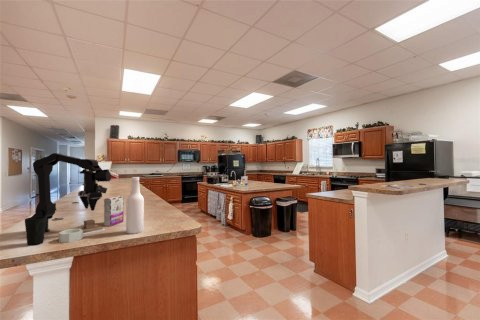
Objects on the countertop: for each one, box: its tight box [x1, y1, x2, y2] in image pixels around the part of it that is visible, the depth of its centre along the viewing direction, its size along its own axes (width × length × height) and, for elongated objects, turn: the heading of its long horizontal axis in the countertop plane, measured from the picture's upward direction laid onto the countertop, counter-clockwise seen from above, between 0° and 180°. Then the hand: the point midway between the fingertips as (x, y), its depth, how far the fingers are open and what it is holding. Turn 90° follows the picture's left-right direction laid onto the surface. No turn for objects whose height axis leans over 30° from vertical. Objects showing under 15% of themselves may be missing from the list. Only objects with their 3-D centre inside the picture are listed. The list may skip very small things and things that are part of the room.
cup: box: [24, 216, 47, 247], centre depth 105 cm, size 8×8×12 cm
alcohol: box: [125, 176, 145, 235], centre depth 124 cm, size 9×9×30 cm
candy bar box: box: [103, 195, 124, 227], centre depth 141 cm, size 11×5×16 cm, turn 168°
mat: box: [83, 227, 107, 236], centre depth 126 cm, size 14×12×1 cm
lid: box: [75, 219, 104, 233], centre depth 126 cm, size 10×10×5 cm
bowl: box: [57, 228, 84, 244], centre depth 111 cm, size 9×9×4 cm
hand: (89, 209), depth 126 cm, fingers open, 9 cm apart
